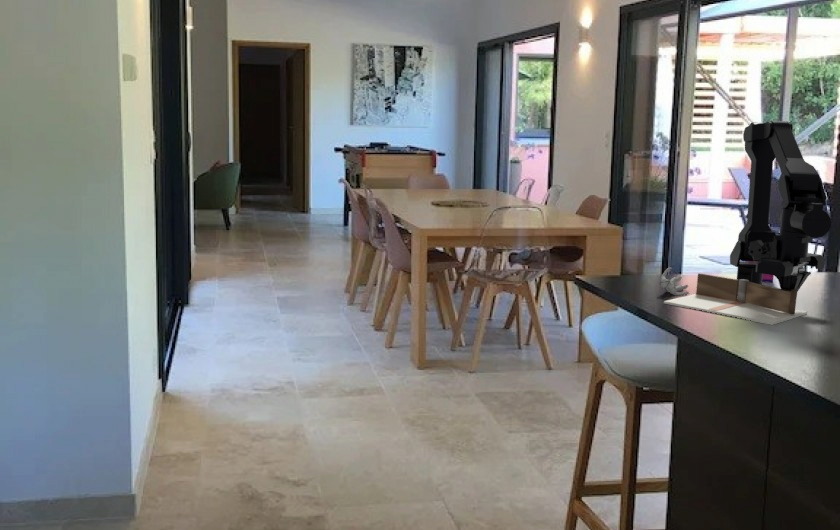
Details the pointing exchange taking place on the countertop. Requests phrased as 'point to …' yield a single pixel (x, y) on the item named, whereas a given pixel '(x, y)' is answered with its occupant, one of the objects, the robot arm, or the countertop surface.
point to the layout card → (733, 309)
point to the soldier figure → (672, 284)
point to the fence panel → (771, 297)
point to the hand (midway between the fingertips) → (786, 304)
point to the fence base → (722, 287)
